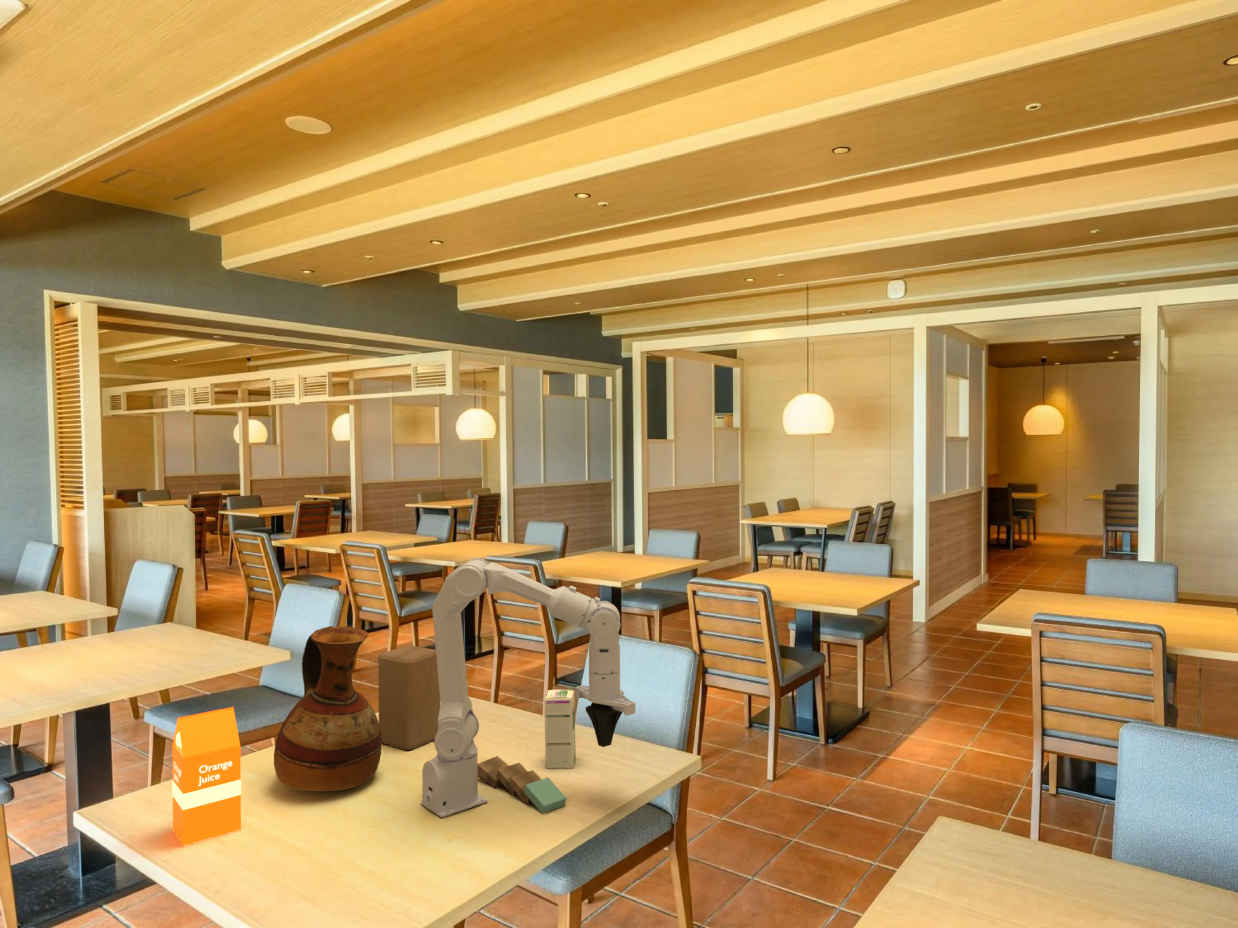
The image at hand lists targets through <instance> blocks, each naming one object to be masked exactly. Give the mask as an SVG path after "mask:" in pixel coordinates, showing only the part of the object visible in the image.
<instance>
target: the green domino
mask: <svg viewBox="0 0 1238 928" xmlns="http://www.w3.org/2000/svg"><path fill="white" fill-rule="evenodd" d="M524 793H525V794H526V795H527V796H528V797H529V799H530V800H531V801H532V802H533V803H532V804H533V805H535V807H536V808H537V809H538V810H539V811H540V813H541V814H547V813H548V812H551V811H553V810H556V809H559V808H561V807H564V806H565V805H566V803H567V799H568V798H567V796H566V795H565V794H564V793H563V792H562V791H561V790H560V789H559V788H558V787H557V786H556V784H555V783H554V782H553V781H552V780H551V779H550V777H545V778H541V780H538V781H535V782H533V783H530V784H527V785H526V786H525V790H524Z"/></svg>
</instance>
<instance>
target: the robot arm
mask: <svg viewBox="0 0 1238 928" xmlns="http://www.w3.org/2000/svg"><path fill="white" fill-rule="evenodd" d="M486 590H487V595H492V594H493V595H494V594H497V593H502V592H508V593H510V594H512V595H515V596H519V597H521V598H525V599H526V600H529V601H532V602H535V603H538V604H540V605H543V606H545V607H546V608H547V609H548V612H549V614H550V616H552V617H554V618H556V619H559V620H561V621H563V622H566V623H568V624H570V625H573V626H576V627H578V628H579V629H587V631H588V633H589V644H588V685H585V684H583V685H580V686H575V698H577V699H585V700H587V701H588V702H591V704H590V705H587V706H586V707H585V712H586V713H587V715H588V717H589V720H590V721H591V724H592V727H593V730H594V733H595V738H596V740H597V745H598V746H599V747H602V748H606V747H608V746H611V745H612V742H613V738H614V733H615V730H616V728H617V724H618V722H619V720H620V718H621V716H622V714H623V715H625V716H631V715H634V714H636V702H634V701H633V700H631V699H629V698H627V696H625V695H624V690H621V644H620V643H619V642H620V634H619V631H620V630H621V626H622V625H621V616H620V615H621V614H620V612H619V610H618V608H617V607H616V606H615V605H614V604H613V603H611V602H610V601H609V600H601V598H600V597H598V596H595V597H594V598H592V597H590V596H588V595H586V594H583V593H581V592H579V591H576V590H577V587H575V586H573V585H570V586H568V587H567V586H564V585H562V586H559V587H558V588H555V589H554V588H550V587H549V586H547V585H544V584H543V583H540V582H538V581H536V580H534V579H532V578H530V577H527V576H525V575H523V574H522V573H519V572H517V571H515V570H512V569H510V568H508V567H506V566H503V565H501V564H499V563H496V562H493V561H491V562H488V561H487V560H486V559H483V558H479V557H478V558H475V557H474V558H472V559H469V560H467V561H466V562H465V563H464V564H462V565H459V566H458V567H456V568H455V569H454V570H453V571H452V572H451V573H450V574H448V575H447V576H446V577H445V579H444V583H443V585H442V587H441V589H440V591H439V592H438V594H437V596H436V599H435V600H434V602H433V605H432V609H431V612H432V620H433V631H434V632H433V633H434V644H435V650H436V656H437V668H438V679H439V690H440V711H439V716H438V731H437V734H436V736H435V740H433V741H434V748H435V750H436V753H437V754H436V755H435V756H434V757H433V758H432V759H430V760H428V761H426V762H424V764H423V767H422V771H421V772H422V778H421V779H422V787H421V788H422V800H420V804H421V805H422V806H423V807H425V808H427V809H428V810H429V811H431V812H433V813H434V814H435V815H437V816H438V817H440V818H445V817H447V816H450V815H453V814H456V813H459V812H462V811H466V810H468V809H471V808H473V807H476V806H479V805H482V804H486V803H487V802H488V799H487V798H486V797H485V796H482V794H479V791H478V790H479V789H478V787H479V786H478V785H479V784H478V783H479V782H478V779H479V778H478V747H477V745H476V744H475V741H474V739H475V738H476V736H477V735H478V732H479V728H480V722H479V719H478V717H477V716H476V714H475V713H474V710H473V702H472V700H471V698H470V696H469V689H468V678H467V667H466V666H467V664H466V655H465V644H464V642H465V641H464V633H463V632H464V631H463V623H462V622H463V621H462V611H464V609H465V608H466V607H467V606H468V605H469V603H471V602H472V601H474V600H475V599H477V598H478V597H480V596H481V595H482V594H483V592H484V591H486Z"/></svg>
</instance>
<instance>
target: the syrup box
mask: <svg viewBox="0 0 1238 928" xmlns="http://www.w3.org/2000/svg"><path fill="white" fill-rule="evenodd" d="M575 707H576V706H575V690H574V689H566V688H565V689H562V688H561V689H560V688H559V689H550V690H549V689H548V690H547V693H546V695H544V742H545V743H544V744H545V746H544V747H545V753H544V754H545V768H546V769H558V770H560V769H561V770H562V769H563V770H565V769H574V766H575V762H576V758H577V755H576V752H577V751H576V748H577V747H576V712H575V711H576V710H575V709H576V708H575Z"/></svg>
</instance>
